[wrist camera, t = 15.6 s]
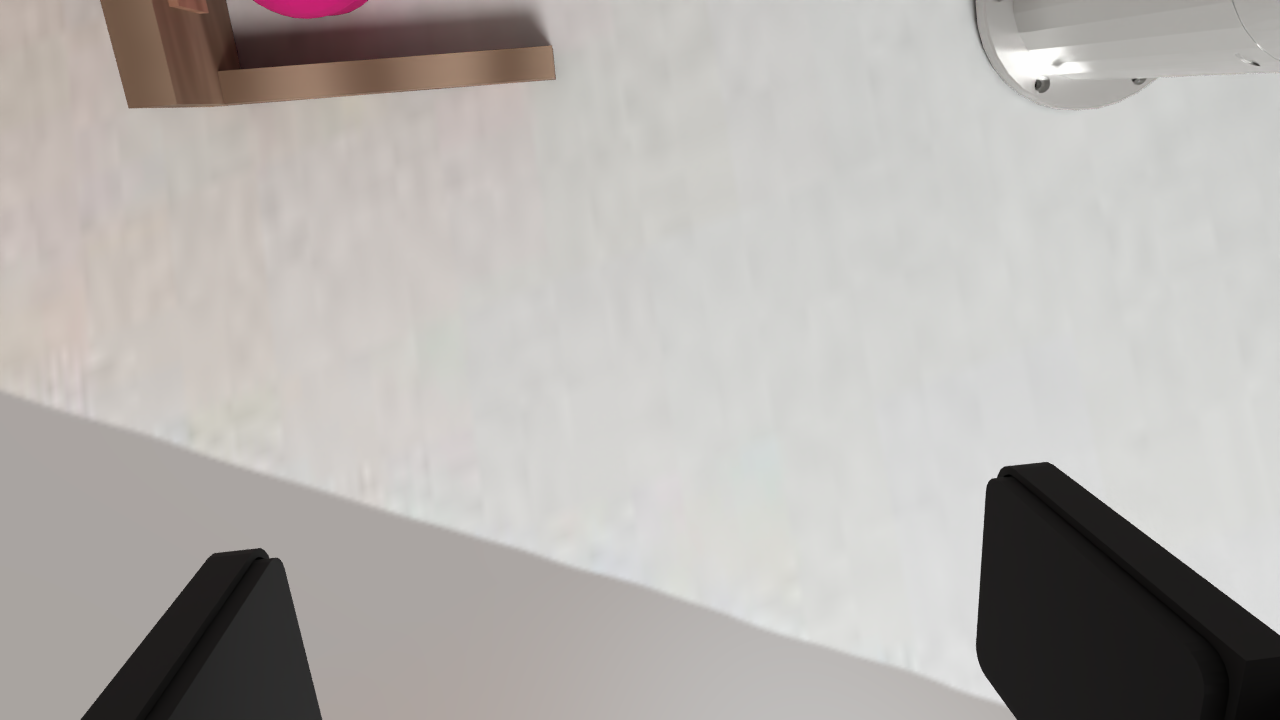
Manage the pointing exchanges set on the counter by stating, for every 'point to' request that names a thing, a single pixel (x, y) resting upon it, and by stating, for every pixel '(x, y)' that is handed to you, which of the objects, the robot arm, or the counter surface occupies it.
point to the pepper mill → (311, 7)
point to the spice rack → (211, 74)
